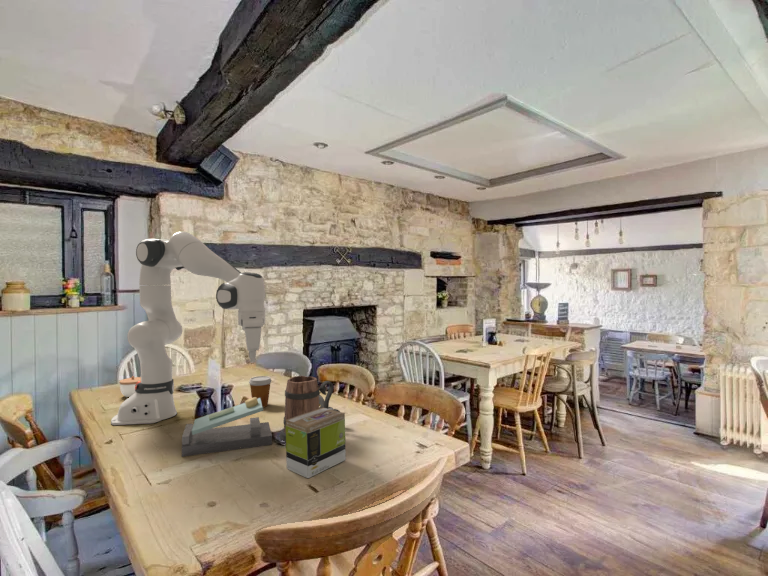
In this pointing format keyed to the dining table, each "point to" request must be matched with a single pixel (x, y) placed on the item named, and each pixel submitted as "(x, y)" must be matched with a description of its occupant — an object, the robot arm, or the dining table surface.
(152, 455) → the dining table surface
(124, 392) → the lidded jar
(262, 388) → the disposable coffee cup
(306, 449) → the tea box
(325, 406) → the tankard
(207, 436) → the base
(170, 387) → the robot arm
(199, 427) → the plate
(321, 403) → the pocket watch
